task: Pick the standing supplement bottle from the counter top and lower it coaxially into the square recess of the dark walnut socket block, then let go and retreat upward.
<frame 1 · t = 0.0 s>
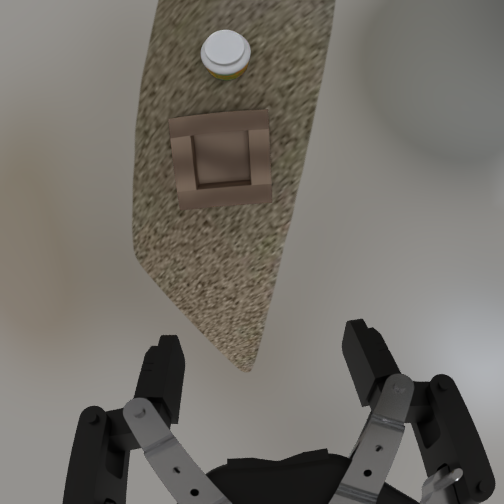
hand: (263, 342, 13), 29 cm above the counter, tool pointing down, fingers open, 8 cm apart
supplement bottle: (227, 62, 31), on the counter
socket block: (222, 155, 37), on the counter
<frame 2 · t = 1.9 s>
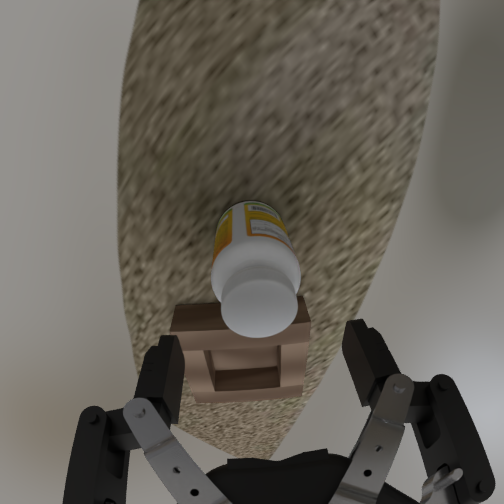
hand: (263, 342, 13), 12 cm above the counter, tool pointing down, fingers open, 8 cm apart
supplement bottle: (250, 230, 23), on the counter
socket block: (243, 344, 29), on the counter
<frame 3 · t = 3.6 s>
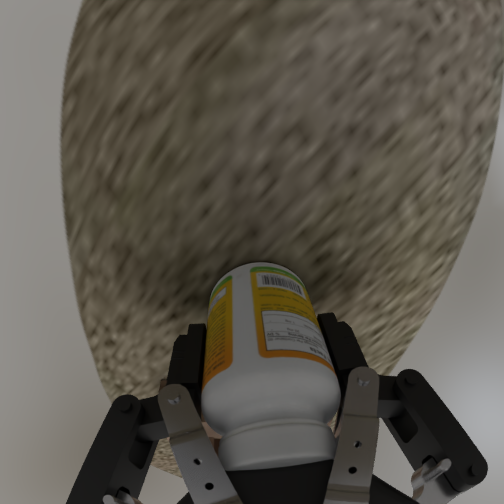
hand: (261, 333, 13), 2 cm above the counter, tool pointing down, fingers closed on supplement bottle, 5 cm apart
supplement bottle: (258, 299, 16), on the counter, touching gripper
socket block: (247, 416, 22), on the counter
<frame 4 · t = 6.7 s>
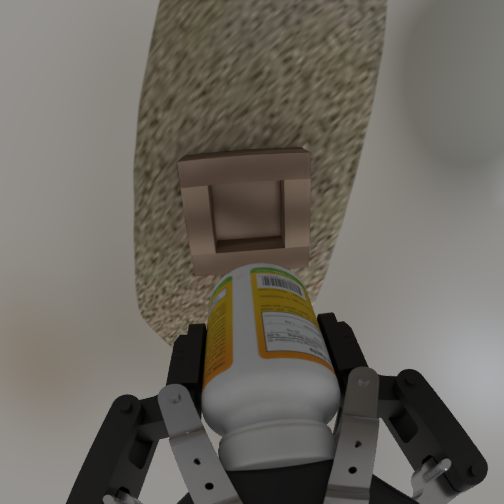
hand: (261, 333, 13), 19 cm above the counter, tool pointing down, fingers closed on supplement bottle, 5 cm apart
supplement bottle: (258, 300, 16), point 16 cm above the counter, touching gripper
socket block: (246, 205, 30), on the counter
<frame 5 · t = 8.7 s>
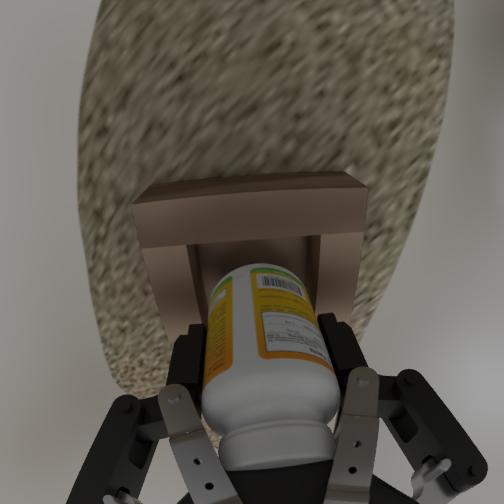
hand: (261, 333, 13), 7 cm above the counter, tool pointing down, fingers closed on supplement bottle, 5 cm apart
supplement bottle: (258, 300, 16), point 4 cm above the counter, touching gripper
socket block: (253, 262, 19), on the counter
when the fingers open (5 cm above the counter, at t = 10.1 s): supplement bottle drops 2 cm, resting on socket block.
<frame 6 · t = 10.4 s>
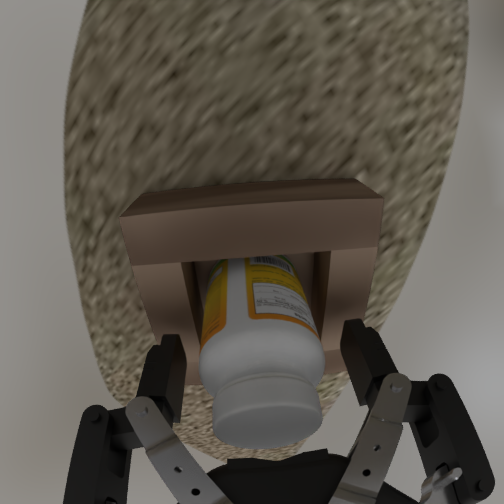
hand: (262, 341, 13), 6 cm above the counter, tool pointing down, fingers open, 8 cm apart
supplement bottle: (253, 280, 17), resting on socket block
socket block: (255, 277, 18), on the counter
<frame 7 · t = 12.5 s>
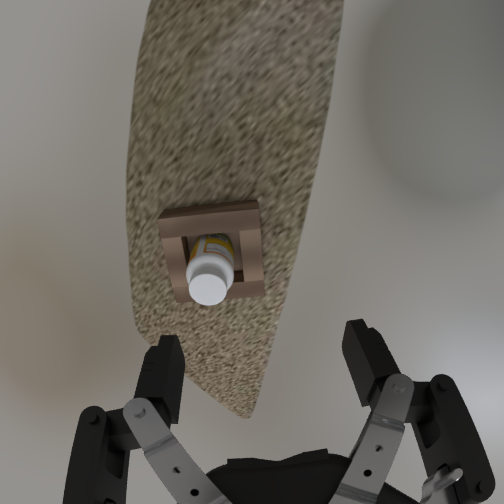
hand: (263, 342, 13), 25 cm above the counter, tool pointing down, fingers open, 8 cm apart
supplement bottle: (213, 248, 38), resting on socket block
socket block: (215, 247, 38), on the counter
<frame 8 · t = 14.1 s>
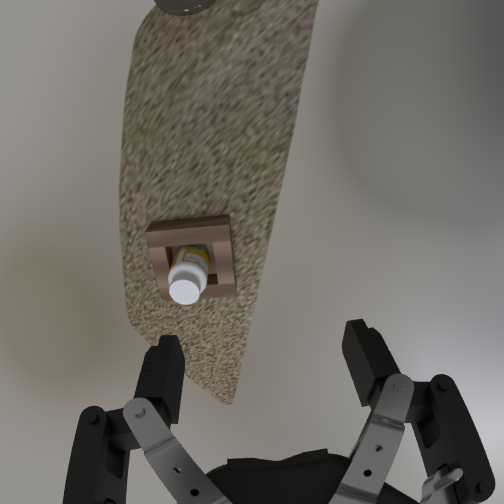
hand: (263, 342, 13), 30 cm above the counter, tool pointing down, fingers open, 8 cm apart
supplement bottle: (193, 255, 44), resting on socket block
socket block: (194, 254, 44), on the counter
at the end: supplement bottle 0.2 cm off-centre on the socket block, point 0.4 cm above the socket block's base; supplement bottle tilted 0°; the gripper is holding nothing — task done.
